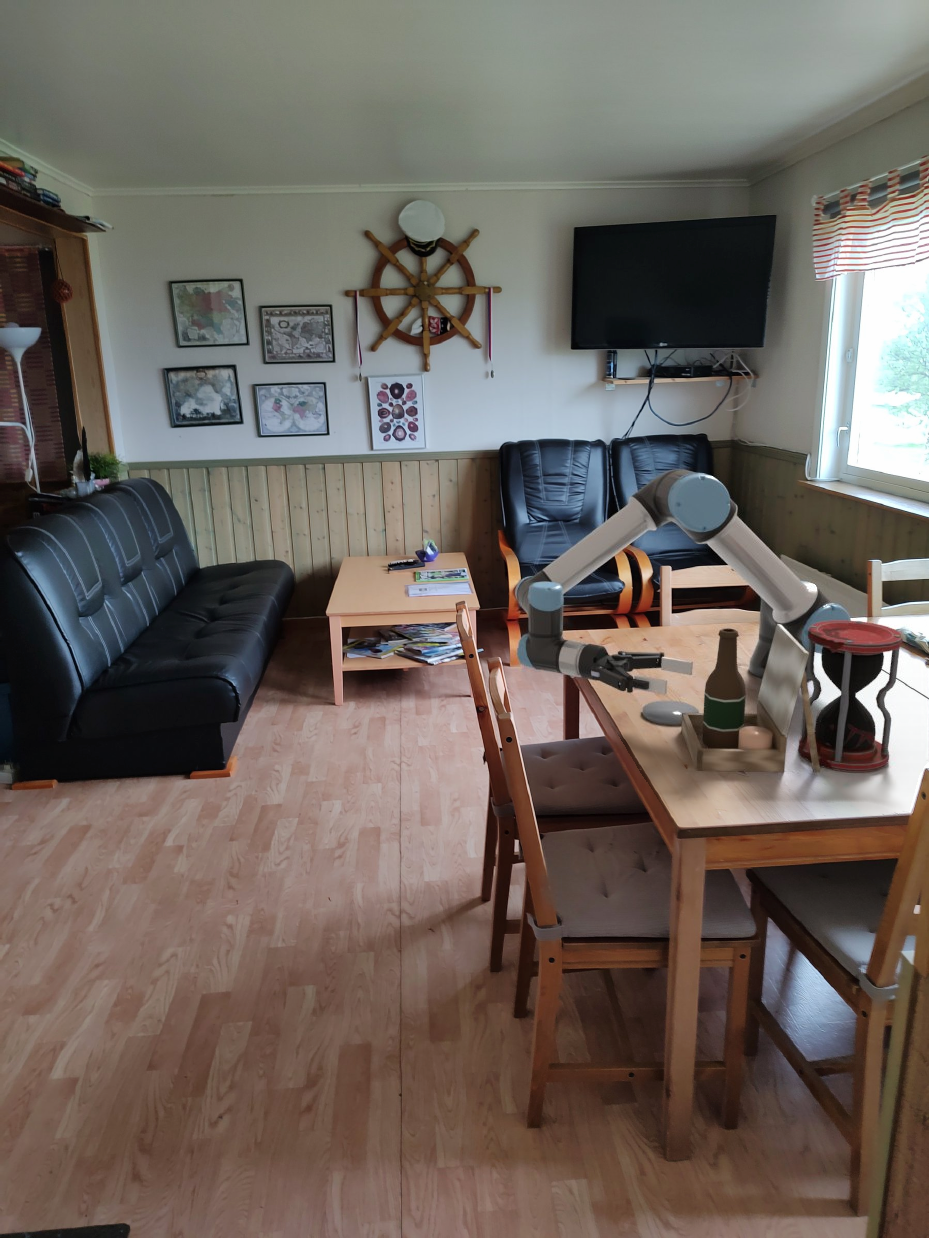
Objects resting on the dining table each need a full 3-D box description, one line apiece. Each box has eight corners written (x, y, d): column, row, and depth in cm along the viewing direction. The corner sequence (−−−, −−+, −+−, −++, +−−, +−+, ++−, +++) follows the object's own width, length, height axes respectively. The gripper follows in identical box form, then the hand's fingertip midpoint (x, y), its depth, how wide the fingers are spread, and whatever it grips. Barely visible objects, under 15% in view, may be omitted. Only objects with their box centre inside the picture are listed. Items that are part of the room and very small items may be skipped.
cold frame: (792, 734, 177) (801, 623, 170) (820, 775, 158) (832, 652, 152) (681, 733, 179) (685, 623, 173) (696, 773, 161) (702, 652, 154)
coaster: (693, 705, 193) (693, 700, 192) (703, 725, 181) (703, 721, 181) (639, 704, 194) (639, 700, 193) (645, 724, 182) (645, 720, 182)
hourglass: (805, 732, 176) (815, 615, 169) (892, 747, 168) (906, 625, 161) (790, 762, 163) (801, 637, 156) (884, 779, 155) (899, 648, 148)
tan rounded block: (765, 755, 166) (768, 726, 165) (773, 768, 161) (776, 738, 159) (734, 754, 167) (736, 725, 165) (741, 767, 161) (743, 738, 160)
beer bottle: (721, 756, 166) (728, 638, 160) (693, 742, 173) (699, 628, 167) (750, 747, 170) (758, 631, 163) (722, 734, 176) (729, 622, 170)
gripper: (610, 661, 194) (700, 677, 182) (556, 694, 175) (653, 714, 163) (610, 630, 192) (702, 644, 180) (556, 659, 173) (655, 677, 161)
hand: (679, 677), depth 171 cm, fingers open, 13 cm apart
